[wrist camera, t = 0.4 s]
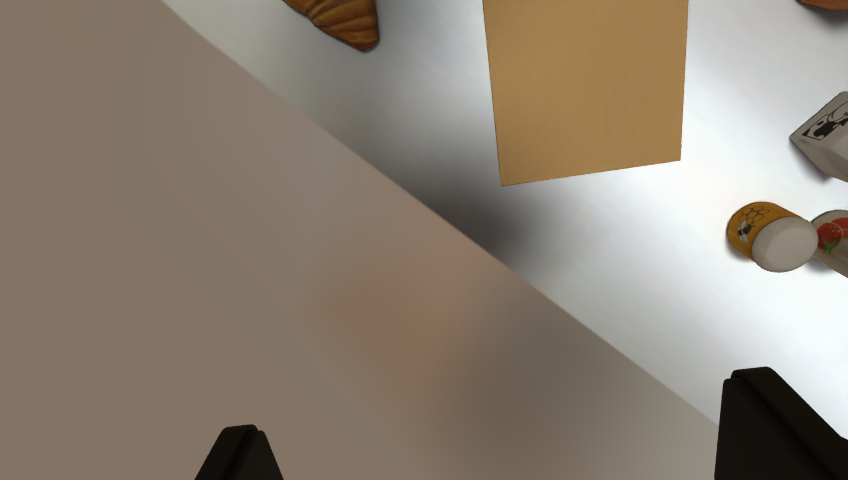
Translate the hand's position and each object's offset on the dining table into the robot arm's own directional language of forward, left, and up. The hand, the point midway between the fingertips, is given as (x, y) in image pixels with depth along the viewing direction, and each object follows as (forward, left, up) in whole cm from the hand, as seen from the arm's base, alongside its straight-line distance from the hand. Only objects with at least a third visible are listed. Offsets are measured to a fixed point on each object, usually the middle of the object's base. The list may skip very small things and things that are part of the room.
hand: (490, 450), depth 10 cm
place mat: (-6, +10, -30) cm, 32 cm away
